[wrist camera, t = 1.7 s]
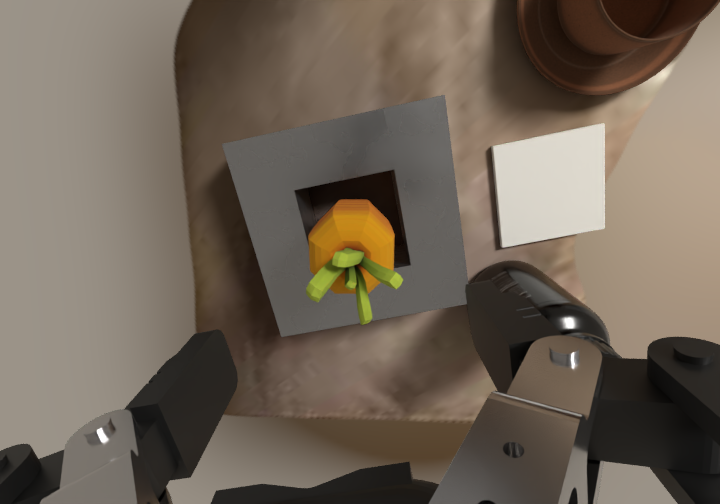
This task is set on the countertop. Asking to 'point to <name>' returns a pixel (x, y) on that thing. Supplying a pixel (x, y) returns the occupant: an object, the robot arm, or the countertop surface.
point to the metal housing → (345, 161)
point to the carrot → (352, 253)
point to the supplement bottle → (551, 302)
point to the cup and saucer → (606, 39)
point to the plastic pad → (550, 185)
